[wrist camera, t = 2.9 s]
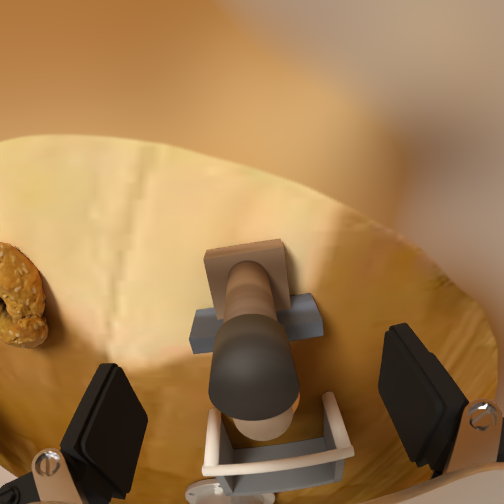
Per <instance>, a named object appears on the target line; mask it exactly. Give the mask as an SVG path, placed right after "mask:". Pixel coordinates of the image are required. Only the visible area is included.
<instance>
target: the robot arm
mask: <svg viewBox="0 0 504 504" xmlns="http://www.w3.org/2000/svg"><path fill="white" fill-rule="evenodd" d="M378 389H379V393H380V395H381V398H382V400H383V402H384V404H385V406H386V408H387V410H388V412H389V415H390V417H391V419H392V421H393V423H394V425H395V428H396V430H397V432H398V434H399V436H400V439H401V441H402V443H403V445H404V448H405V450H406V452H407V454H408V457H409V459H410V461H411V462H416V464H417V466H418V468H419V467H421V466H424V465H426V464H429V466H430V468H431V470H432V472H431V475H430V478H429V480H428V481H425V482H423V483H420V484H417V485H415V486H412V487H409V488H407V489H404V490H401V491H398V492H395V493H392V494H389V495H386V496H382V497H379V498H376V499H372V500H369V501H365V502H362V503H358V504H504V417H503V416H502V411H501V409H500V407H499V406H498V405H497V404H496V403H494V402H493V401H491V400H488V399H477V400H474V401H472V402H470V403H469V401H468V400H467V398H466V397H465V396H464V394H463V393H462V391H461V390H460V389H459V387H458V386H457V384H456V383H455V382H454V380H453V379H452V377H451V376H450V375H449V373H448V372H447V371H446V369H445V368H444V367H443V365H442V364H441V363H440V361H439V360H438V359H437V357H436V356H435V355H434V354H433V353H431V352H429V351H428V350H427V348H426V347H425V346H424V345H423V343H422V342H421V341H420V339H419V338H418V337H417V336H416V334H415V333H414V332H413V330H412V329H411V328H410V327H409V325H408V324H407V323H401V324H397V325H393V326H390V328H389V331H386V332H385V337H384V346H383V354H382V362H381V369H380V376H379V382H378ZM147 423H148V417H147V414H146V412H145V410H144V409H143V407H142V405H141V403H140V402H139V400H138V398H137V396H136V394H135V392H134V391H133V389H132V387H131V385H130V383H129V381H128V379H127V377H126V375H125V373H124V371H123V369H122V368H121V367H118V365H117V364H115V363H102V364H100V365H99V367H98V369H97V371H96V373H95V375H94V376H93V378H92V380H91V382H90V384H89V386H88V388H87V390H86V392H85V394H84V396H83V398H82V400H81V402H80V404H79V406H78V408H77V410H76V412H75V414H74V416H73V418H72V420H71V422H70V424H69V426H68V428H67V431H66V433H65V435H64V437H63V439H62V441H61V444H60V447H61V449H60V451H58V450H57V449H54V448H47V449H44V450H42V451H40V452H39V453H38V454H37V455H36V456H35V457H34V459H33V461H32V472H30V473H28V474H25V475H23V476H21V477H19V478H18V479H15V480H13V481H11V482H9V483H6V484H5V485H3V486H2V487H1V488H0V504H111V502H110V501H111V498H112V497H113V498H118V499H124V500H125V497H126V493H129V492H130V490H131V486H132V482H133V477H134V473H135V469H136V465H137V461H138V457H139V453H140V449H141V446H142V442H143V438H144V434H145V430H146V427H147ZM185 497H186V499H187V501H188V502H189V503H191V504H273V503H274V501H275V493H267V494H256V495H243V496H226V494H225V493H224V491H223V489H222V488H221V486H220V484H219V482H218V481H217V479H216V478H214V479H206V480H201V481H198V482H195V483H193V484H191V485H189V486H188V487H187V489H186V494H185Z"/></svg>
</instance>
